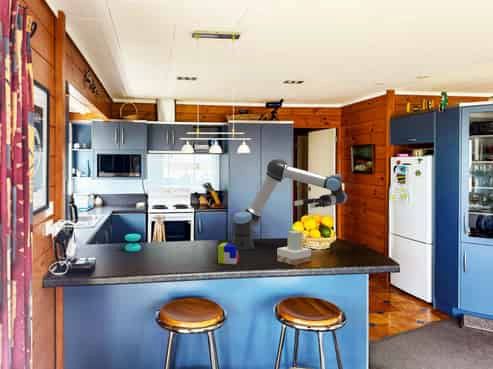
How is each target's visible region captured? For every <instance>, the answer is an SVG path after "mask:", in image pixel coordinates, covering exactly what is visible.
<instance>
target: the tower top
mask: <svg viewBox="0 0 493 369" xmlns="http://www.w3.org/2000/svg"><path fill="white" fill-rule="evenodd" d="M276 252H277V254H276V255H279V256H283V257H287V258H290V259H294V260H295V259H300V258H304V257H309V256H311V257H312V249H311V248H308V247H303V246H302V249H300V250H291V249H288V245H287V246H283V247H278V248H277V250H276Z"/></svg>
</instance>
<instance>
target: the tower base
mask: <svg viewBox="0 0 493 369" xmlns="http://www.w3.org/2000/svg"><path fill="white" fill-rule="evenodd" d="M276 255H277V254H276ZM276 261H277V262H280V263H283V262H284V264H287V263H288V265H291V264H292V266H295V265H296V266H299V265H298V264H300V265H302V264H301V263H304V264H306V263H305V262H308V263H311V262H312V255H311V256H309V257H304V258H300V259H295V260H294V259H290V258H287V257H283V256H279V255H277V256H276ZM310 261H311V262H310Z"/></svg>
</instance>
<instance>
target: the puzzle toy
mask: <svg viewBox="0 0 493 369" xmlns="http://www.w3.org/2000/svg"><path fill="white" fill-rule="evenodd" d="M217 250H218V252H217V254H218V255H217V256H218V257H217V259H218V260H217V264H224V265H226V264H227V265H236V264H237V263H238V262H239V261H240V250H239V243H232V242H222V243H220V244H219V245H218V246H217Z"/></svg>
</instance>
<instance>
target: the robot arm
mask: <svg viewBox="0 0 493 369" xmlns="http://www.w3.org/2000/svg"><path fill="white" fill-rule="evenodd" d="M283 179H284V180H285V179H289V180H293V181H296V182H301V183H304V184H308V185H312V186H315V187H319V188H323V189H325V190H326V189H327V190H328V191H330V193H327V194H322V195H320V196H319V197H316V198H302V199H301V198H300V199H299V200H295V201H294V206H295V207H296V206H303V205H308V204H309V208H310V209H311V210H312V209H317V208H327V207H332V206H335V205H342V204H345V203H346V202H347V200H348V195H347V194H346V192H344V191H343V179H342V175H341V174H338V173H336V174H329V176H327V175H322V174H319V173H316V172H312V171H308V170H304V169H300V168H297V167H293V166H289V164H288V163H287V161H286V160H284V159H281V158H278V159H275V158H274V159H272V160H270V161H269V162H268V164H267V166H266V177H265V179H264V180H263V182H262V185H261V187H260V188H259V190H258V192H257V194H256V195H255V197H254V199H253V201H252V203H251V205H250V206H247V207H246V208H245V210H244V211H240V212H236V213H234V216H233V238H232V242H231V243H239V251H249V250H250V251H251V250H253V249H254V247H255V244H254V241H253V237H252V229H254V228H256V227H257V226H258V225H259V224H260V221H261V220H260V219H261V217H262V212H263V210H264V208H265V206H266V204H267V202H268V201H269V199H270V197H271V196H272V194H273V192H274V191H275V189H276V187H277V186H278V184H279V183H281V182H282V181H283Z"/></svg>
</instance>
